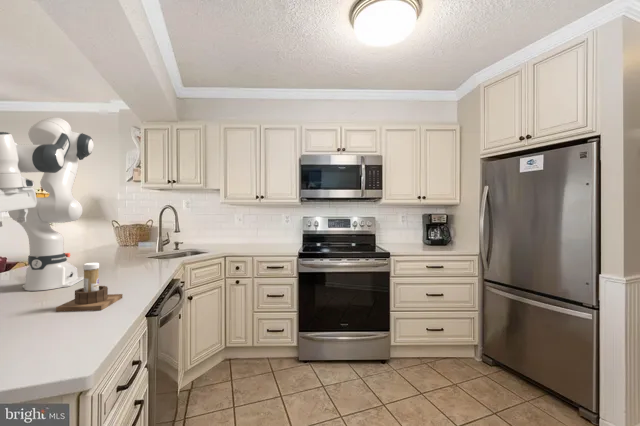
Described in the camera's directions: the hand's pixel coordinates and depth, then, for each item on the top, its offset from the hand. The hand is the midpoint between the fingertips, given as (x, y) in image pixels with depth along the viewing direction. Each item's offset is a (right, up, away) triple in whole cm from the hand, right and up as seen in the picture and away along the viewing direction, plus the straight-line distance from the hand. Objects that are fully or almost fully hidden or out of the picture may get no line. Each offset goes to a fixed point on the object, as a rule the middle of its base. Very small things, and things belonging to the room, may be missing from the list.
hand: (10, 224), depth 99 cm
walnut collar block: (+19, -29, +10) cm, 37 cm away
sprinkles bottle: (+19, -28, +10) cm, 35 cm away
